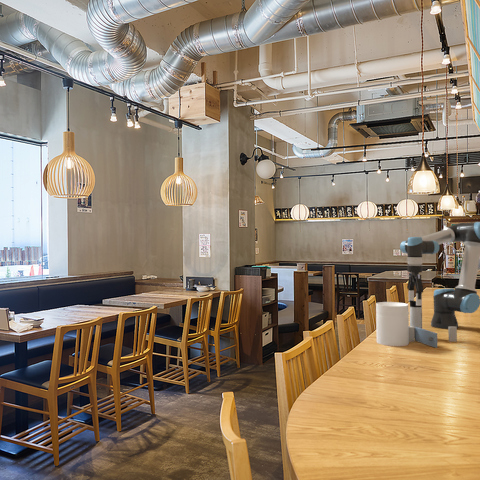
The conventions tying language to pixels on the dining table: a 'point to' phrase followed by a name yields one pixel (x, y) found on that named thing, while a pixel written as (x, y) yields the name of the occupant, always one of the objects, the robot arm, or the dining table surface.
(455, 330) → the wall stub
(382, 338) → the canister
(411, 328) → the door post
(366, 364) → the dining table surface
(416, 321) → the travel mug
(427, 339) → the door
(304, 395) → the dining table surface
